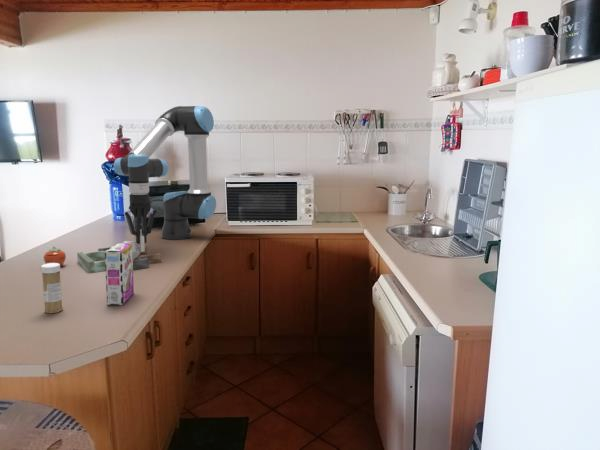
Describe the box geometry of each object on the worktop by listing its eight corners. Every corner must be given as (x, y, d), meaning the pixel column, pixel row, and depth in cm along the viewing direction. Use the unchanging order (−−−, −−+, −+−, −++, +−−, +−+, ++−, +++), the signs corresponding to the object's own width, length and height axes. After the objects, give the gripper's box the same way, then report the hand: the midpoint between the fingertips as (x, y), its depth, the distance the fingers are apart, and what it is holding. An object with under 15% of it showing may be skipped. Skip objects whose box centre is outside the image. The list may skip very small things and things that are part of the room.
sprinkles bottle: (45, 309, 124) (41, 263, 121) (63, 307, 126) (59, 261, 123) (44, 315, 120) (40, 267, 117) (63, 312, 122) (59, 265, 119)
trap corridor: (142, 251, 192) (141, 242, 192) (166, 265, 172) (166, 255, 171) (74, 260, 176) (74, 250, 175) (92, 276, 155) (91, 265, 154)
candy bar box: (124, 305, 128) (121, 251, 125) (106, 306, 127) (103, 251, 124) (135, 293, 139) (133, 242, 136) (118, 293, 138) (116, 242, 135)
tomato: (41, 269, 161) (40, 248, 160) (47, 264, 168) (45, 244, 167) (64, 268, 163) (62, 248, 162) (68, 263, 170) (67, 243, 169)
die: (121, 266, 171) (136, 246, 171) (107, 253, 174) (122, 233, 174) (133, 268, 179) (148, 249, 179) (120, 255, 181) (134, 237, 181)
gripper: (125, 195, 167) (128, 255, 171) (158, 193, 175) (160, 250, 179) (119, 193, 173) (122, 251, 177) (152, 191, 181) (154, 247, 185)
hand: (141, 251), depth 178 cm, fingers closed
